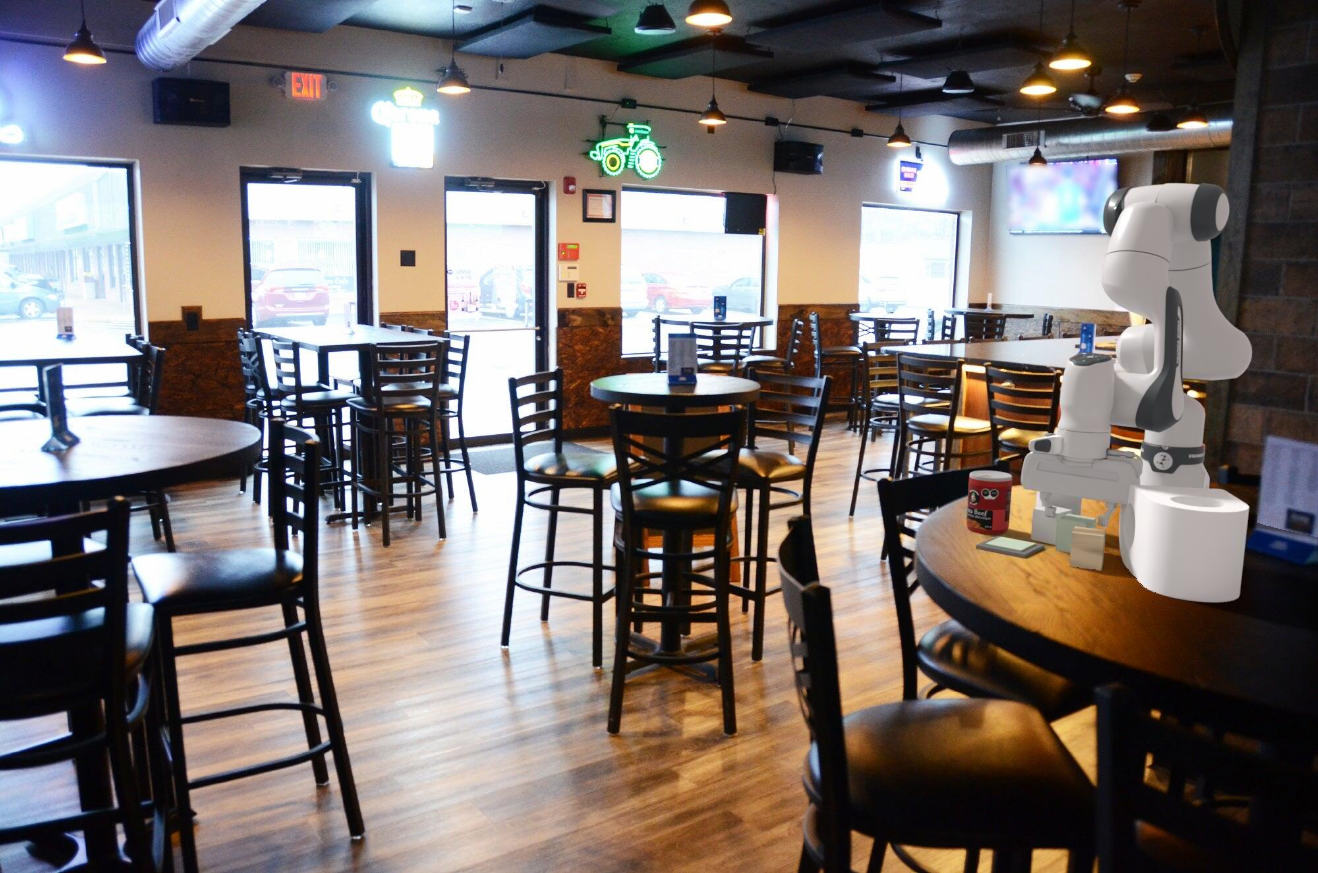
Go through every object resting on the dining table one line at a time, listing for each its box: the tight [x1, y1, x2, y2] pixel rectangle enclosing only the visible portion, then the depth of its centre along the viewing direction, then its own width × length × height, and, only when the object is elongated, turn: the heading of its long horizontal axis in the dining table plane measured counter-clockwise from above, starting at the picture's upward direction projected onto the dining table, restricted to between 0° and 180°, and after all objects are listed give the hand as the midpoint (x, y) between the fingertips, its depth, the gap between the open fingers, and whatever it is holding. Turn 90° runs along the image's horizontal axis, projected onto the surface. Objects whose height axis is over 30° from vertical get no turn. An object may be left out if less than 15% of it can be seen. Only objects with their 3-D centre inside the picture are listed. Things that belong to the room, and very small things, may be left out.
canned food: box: [965, 470, 1013, 535], centre depth 202 cm, size 8×8×11 cm
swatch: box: [975, 535, 1046, 559], centre depth 190 cm, size 9×9×1 cm
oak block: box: [1068, 526, 1107, 571], centre depth 179 cm, size 5×5×6 cm
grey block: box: [1030, 506, 1072, 546], centre depth 195 cm, size 5×5×6 cm
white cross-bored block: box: [1118, 485, 1250, 603], centre depth 172 cm, size 14×14×25 cm
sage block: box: [1055, 514, 1097, 554], centre depth 189 cm, size 5×5×6 cm
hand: (1076, 521), depth 188 cm, fingers open, 8 cm apart
